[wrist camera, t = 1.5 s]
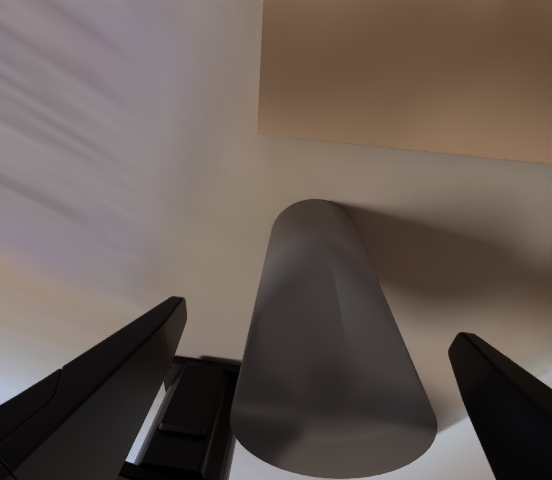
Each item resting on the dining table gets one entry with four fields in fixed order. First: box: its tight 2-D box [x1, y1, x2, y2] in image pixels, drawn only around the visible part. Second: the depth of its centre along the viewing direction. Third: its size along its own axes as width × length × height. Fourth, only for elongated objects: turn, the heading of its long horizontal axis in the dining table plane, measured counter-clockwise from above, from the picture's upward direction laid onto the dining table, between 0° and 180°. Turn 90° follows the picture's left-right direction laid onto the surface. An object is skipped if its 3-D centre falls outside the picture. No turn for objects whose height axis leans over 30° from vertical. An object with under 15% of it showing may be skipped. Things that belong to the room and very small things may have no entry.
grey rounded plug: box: [230, 199, 437, 479], centre depth 10 cm, size 4×4×9 cm
